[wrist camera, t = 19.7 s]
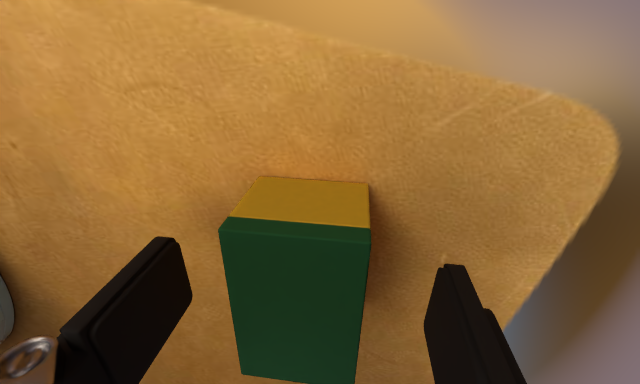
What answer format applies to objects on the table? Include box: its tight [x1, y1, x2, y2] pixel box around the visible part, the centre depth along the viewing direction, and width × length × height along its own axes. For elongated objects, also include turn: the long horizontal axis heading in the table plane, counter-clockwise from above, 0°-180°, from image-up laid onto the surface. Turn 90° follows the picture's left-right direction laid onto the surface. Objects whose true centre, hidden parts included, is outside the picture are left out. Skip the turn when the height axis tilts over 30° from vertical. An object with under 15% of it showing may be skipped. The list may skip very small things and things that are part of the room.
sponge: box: [218, 176, 371, 384], centre depth 12 cm, size 4×7×4 cm, turn 179°
